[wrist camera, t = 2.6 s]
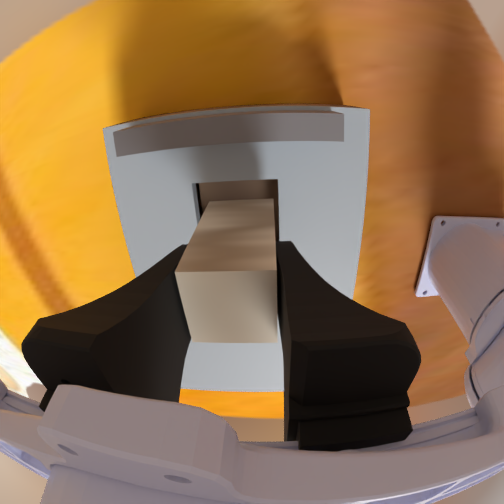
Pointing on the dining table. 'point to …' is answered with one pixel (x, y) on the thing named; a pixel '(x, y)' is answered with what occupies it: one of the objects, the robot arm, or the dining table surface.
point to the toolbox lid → (235, 169)
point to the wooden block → (231, 274)
